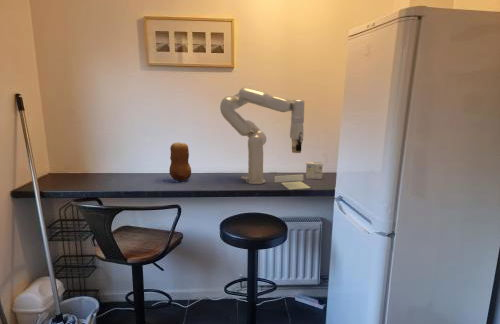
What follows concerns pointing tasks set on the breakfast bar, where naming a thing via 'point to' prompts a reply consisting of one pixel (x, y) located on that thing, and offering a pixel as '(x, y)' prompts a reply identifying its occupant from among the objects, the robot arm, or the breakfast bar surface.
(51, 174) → the breakfast bar surface
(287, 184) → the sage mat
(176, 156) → the butternut squash
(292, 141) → the birch cylinder
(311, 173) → the light bulb box
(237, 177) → the breakfast bar surface
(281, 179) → the cream plank
